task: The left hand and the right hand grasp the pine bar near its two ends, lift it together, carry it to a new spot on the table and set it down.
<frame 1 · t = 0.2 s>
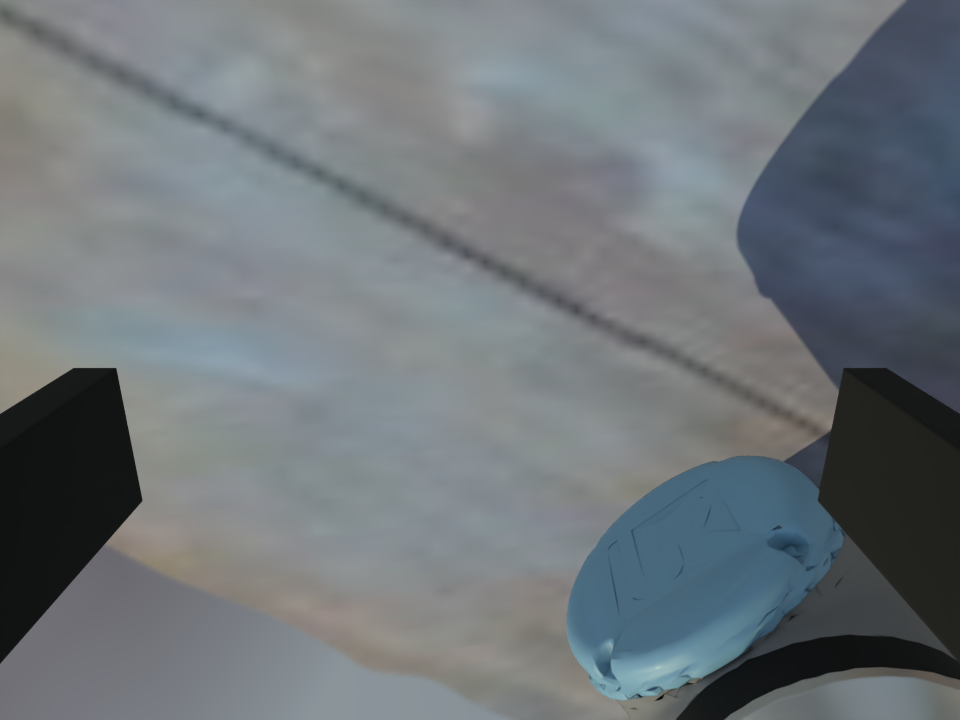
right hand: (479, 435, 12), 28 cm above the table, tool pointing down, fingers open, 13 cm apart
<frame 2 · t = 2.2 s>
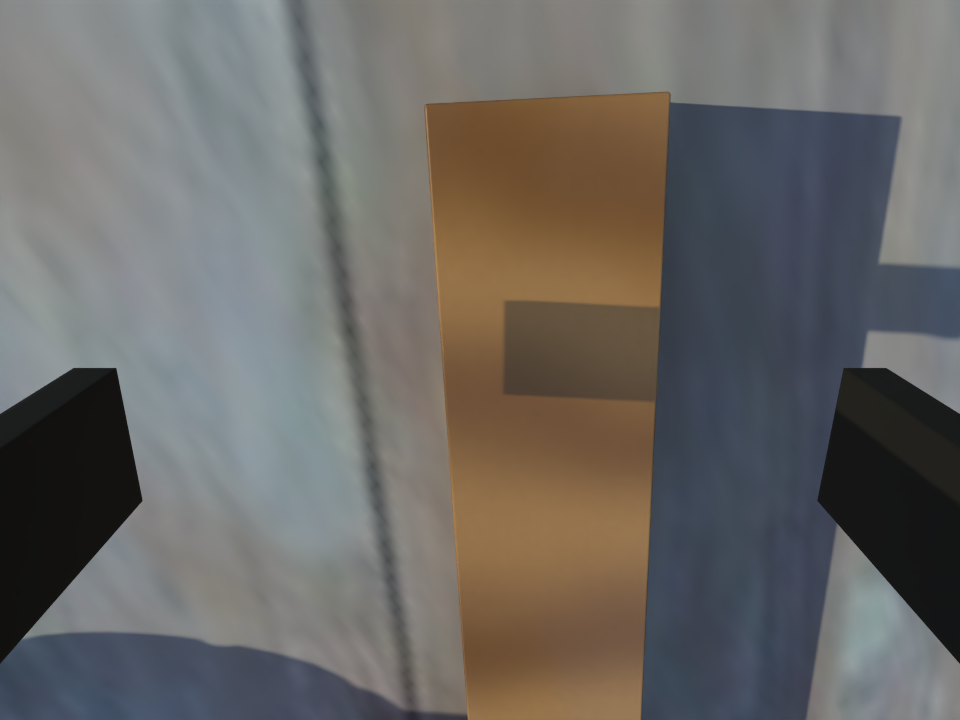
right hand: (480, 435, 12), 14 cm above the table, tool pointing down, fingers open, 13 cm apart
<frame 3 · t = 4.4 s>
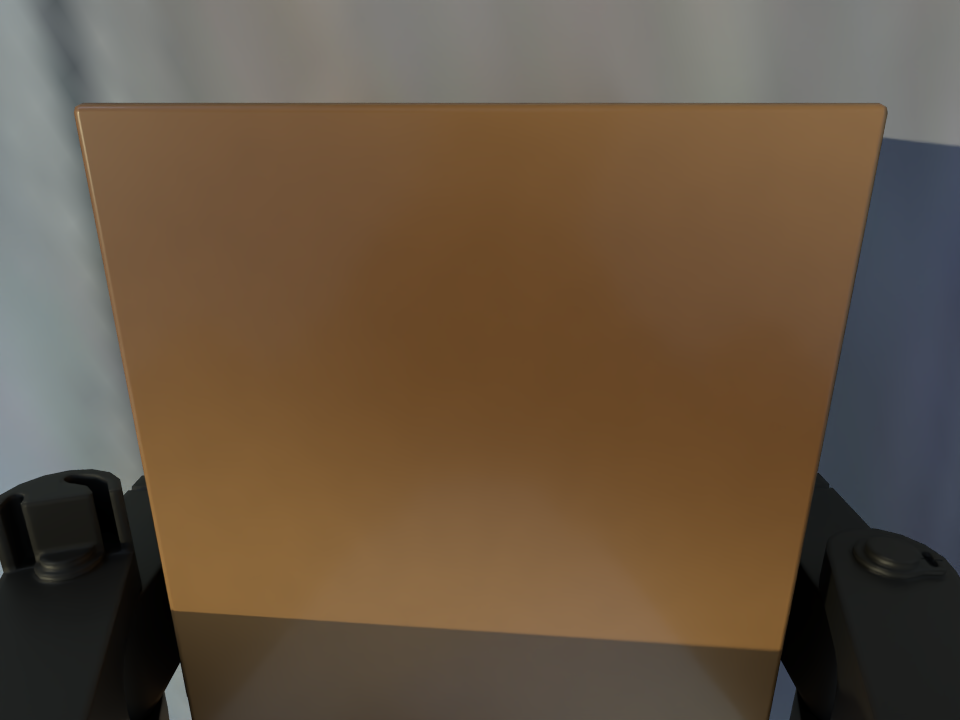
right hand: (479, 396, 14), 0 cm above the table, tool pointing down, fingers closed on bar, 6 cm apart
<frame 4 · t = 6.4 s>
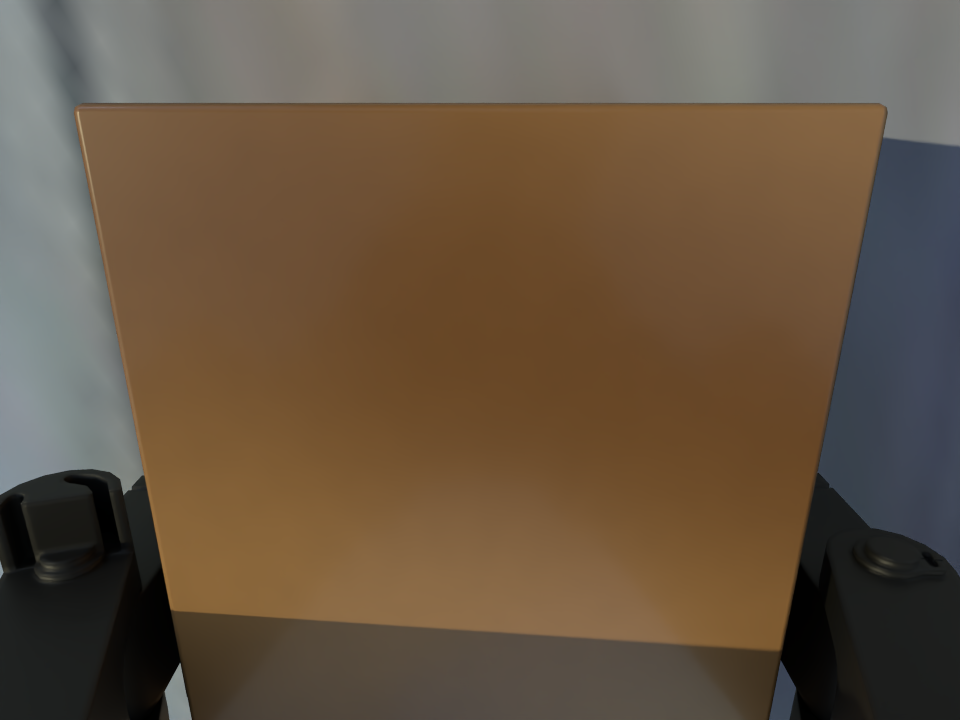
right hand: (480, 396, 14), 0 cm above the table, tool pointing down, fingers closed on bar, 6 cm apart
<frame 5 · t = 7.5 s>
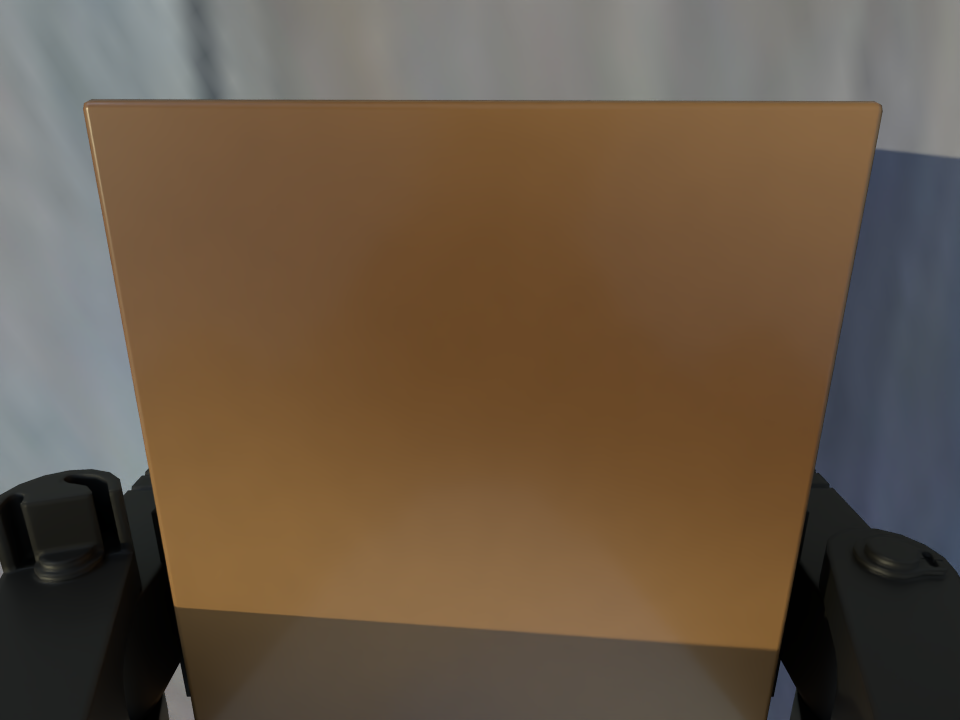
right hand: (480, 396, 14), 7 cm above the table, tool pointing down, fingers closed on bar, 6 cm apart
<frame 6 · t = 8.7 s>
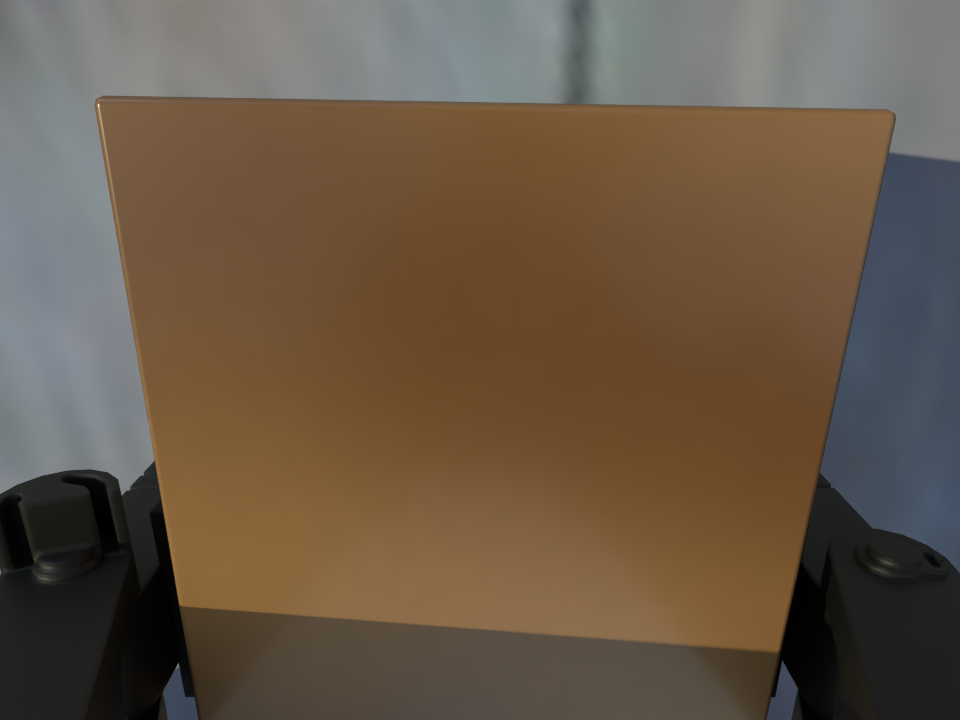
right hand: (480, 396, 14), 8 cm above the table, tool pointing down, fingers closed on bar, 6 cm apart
when the left hand's fingers open (2 cm above the table, at t = 11.1 s): bar drops 2 cm, on the table.
when the right hand's fingers open (2 cm above the table, at t = 11.1 s): bar drops 2 cm, on the table.
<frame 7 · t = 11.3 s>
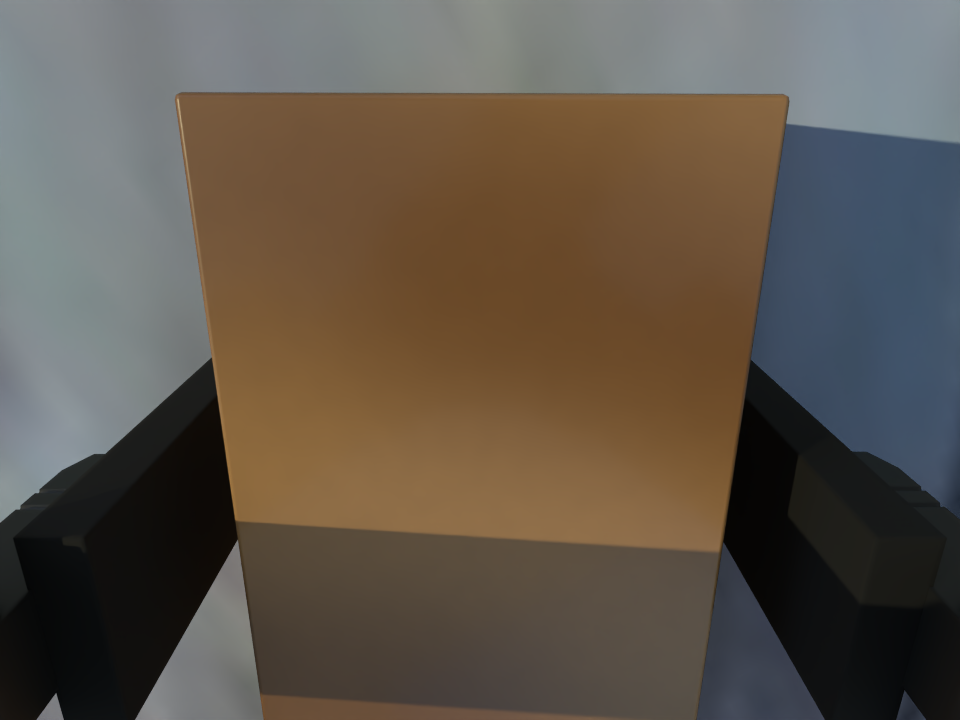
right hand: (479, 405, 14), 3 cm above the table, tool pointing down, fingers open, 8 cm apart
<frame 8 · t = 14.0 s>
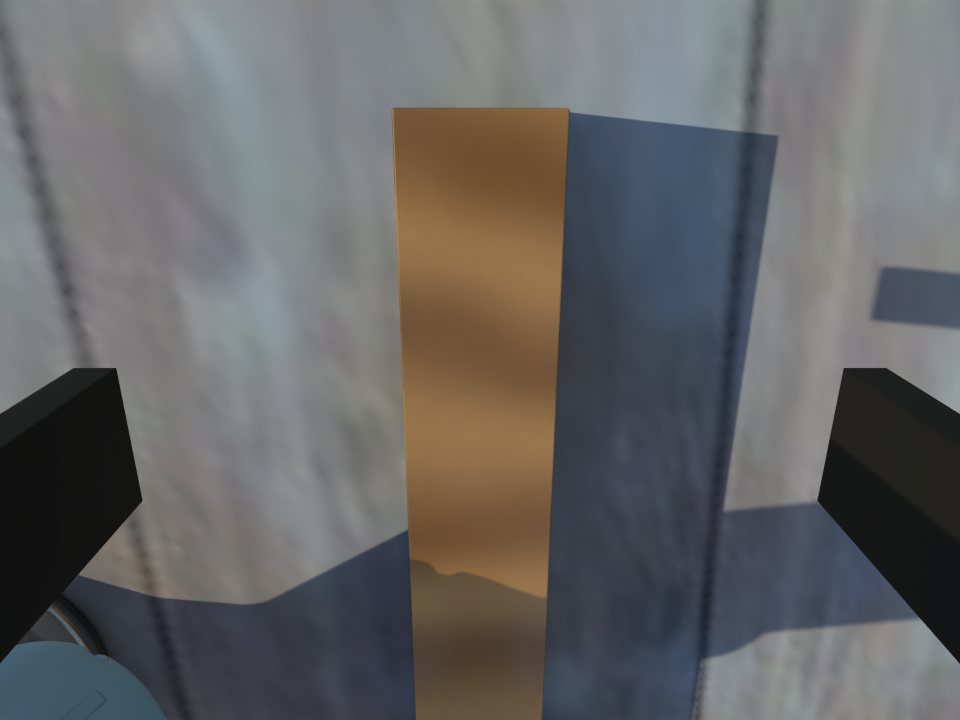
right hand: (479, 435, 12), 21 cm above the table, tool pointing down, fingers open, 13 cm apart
bar: (479, 654, 41), on the table
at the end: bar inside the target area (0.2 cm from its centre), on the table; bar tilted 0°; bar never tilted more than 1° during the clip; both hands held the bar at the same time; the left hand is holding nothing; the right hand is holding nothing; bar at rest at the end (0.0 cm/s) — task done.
